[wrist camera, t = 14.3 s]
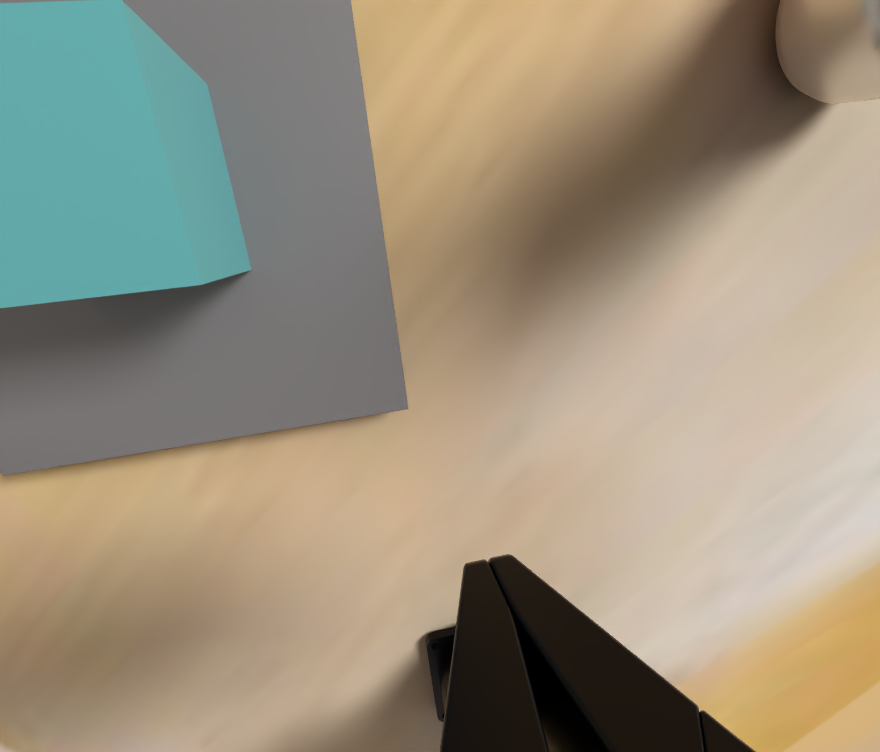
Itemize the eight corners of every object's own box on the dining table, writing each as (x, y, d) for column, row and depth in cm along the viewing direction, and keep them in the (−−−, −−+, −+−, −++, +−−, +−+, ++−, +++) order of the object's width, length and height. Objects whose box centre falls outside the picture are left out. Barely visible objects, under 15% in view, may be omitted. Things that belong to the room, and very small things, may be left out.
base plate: (405, 396, 19) (408, 408, 18) (32, 455, 17) (2, 475, 16) (327, -147, 13) (323, -193, 12) (-252, -147, 11) (-340, -202, 10)
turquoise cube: (251, 269, 15) (200, 284, 10) (77, 289, 14) (-63, 315, 10) (207, 83, 13) (121, -1, 8) (4, 95, 12) (-212, 10, 8)
